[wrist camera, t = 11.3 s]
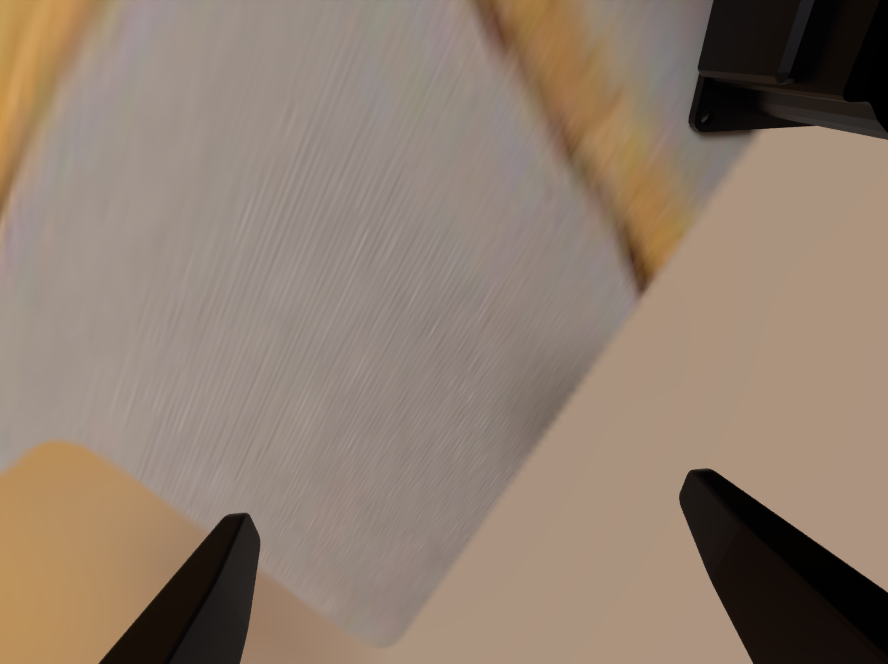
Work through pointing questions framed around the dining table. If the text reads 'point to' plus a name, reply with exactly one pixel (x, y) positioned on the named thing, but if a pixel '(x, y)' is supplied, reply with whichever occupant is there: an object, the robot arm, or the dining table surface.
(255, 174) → the dining table surface
